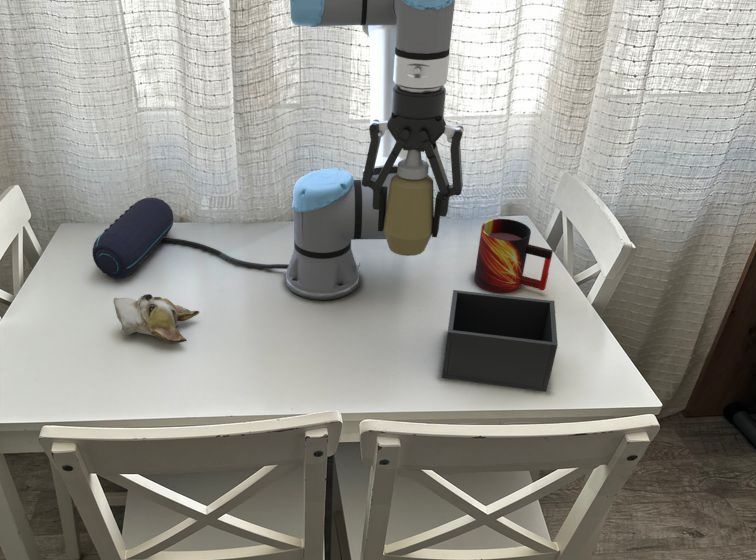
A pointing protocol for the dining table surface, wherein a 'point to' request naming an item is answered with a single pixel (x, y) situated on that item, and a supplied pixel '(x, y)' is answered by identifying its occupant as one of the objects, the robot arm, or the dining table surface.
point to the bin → (500, 340)
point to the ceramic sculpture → (152, 317)
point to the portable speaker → (132, 237)
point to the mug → (507, 257)
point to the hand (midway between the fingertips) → (408, 230)
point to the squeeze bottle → (410, 207)
